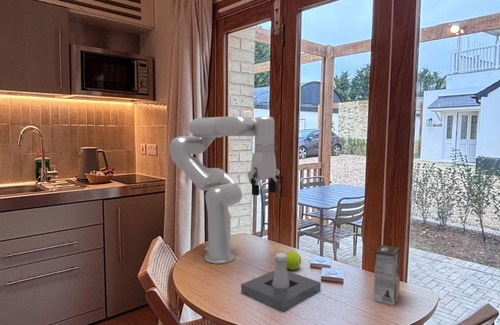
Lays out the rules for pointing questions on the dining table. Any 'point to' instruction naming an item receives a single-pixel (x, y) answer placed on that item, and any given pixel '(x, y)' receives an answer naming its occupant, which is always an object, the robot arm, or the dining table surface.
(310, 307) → the dining table surface
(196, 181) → the robot arm
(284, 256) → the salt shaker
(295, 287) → the grey square frame
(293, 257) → the tennis ball
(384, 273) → the coffee box
